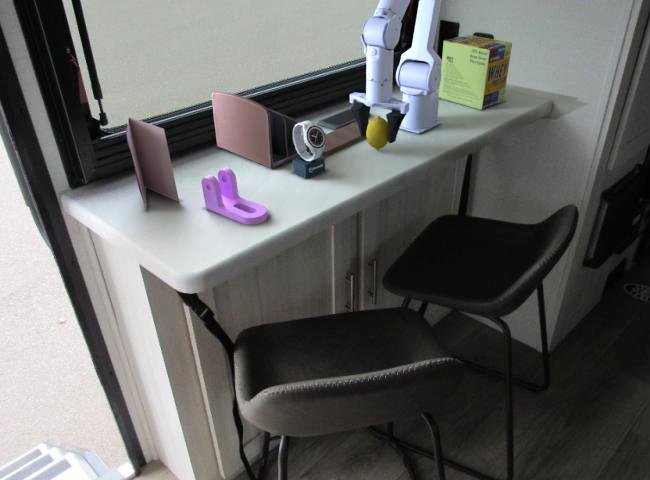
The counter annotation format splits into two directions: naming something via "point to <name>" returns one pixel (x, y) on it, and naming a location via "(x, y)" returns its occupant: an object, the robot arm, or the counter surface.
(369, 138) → the lemon
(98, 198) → the counter surface
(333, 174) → the counter surface
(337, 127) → the cell phone
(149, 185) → the greeting card
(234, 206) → the bracket
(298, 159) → the watch
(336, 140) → the back board
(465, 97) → the protein box
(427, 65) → the robot arm
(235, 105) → the letter holder
